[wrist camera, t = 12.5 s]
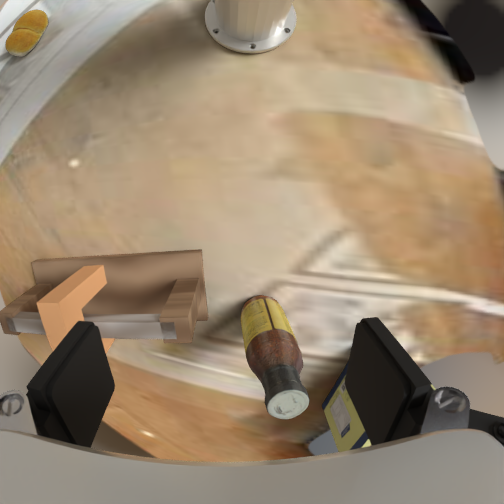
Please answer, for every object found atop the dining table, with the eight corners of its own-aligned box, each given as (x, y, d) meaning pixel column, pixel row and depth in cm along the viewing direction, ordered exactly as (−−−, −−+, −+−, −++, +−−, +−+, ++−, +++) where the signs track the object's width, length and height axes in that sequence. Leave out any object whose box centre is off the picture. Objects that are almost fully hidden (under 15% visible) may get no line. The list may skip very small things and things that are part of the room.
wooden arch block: (84, 266, 35) (36, 302, 24) (103, 264, 35) (58, 302, 24) (100, 332, 38) (65, 383, 26) (118, 333, 38) (87, 386, 27)
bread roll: (57, 13, 29) (46, 5, 25) (31, 59, 31) (19, 53, 27) (29, 12, 27) (18, 5, 24) (5, 55, 29) (-7, 50, 25)
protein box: (403, 348, 48) (446, 399, 33) (364, 410, 52) (392, 465, 37) (358, 339, 47) (399, 398, 32) (320, 406, 50) (342, 469, 35)
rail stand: (36, 259, 40) (-13, 288, 27) (201, 249, 41) (188, 284, 28) (50, 315, 42) (10, 354, 30) (208, 315, 44) (200, 368, 31)
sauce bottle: (239, 330, 45) (244, 428, 25) (241, 291, 43) (249, 382, 24) (282, 331, 45) (310, 426, 26) (287, 293, 43) (324, 380, 24)
